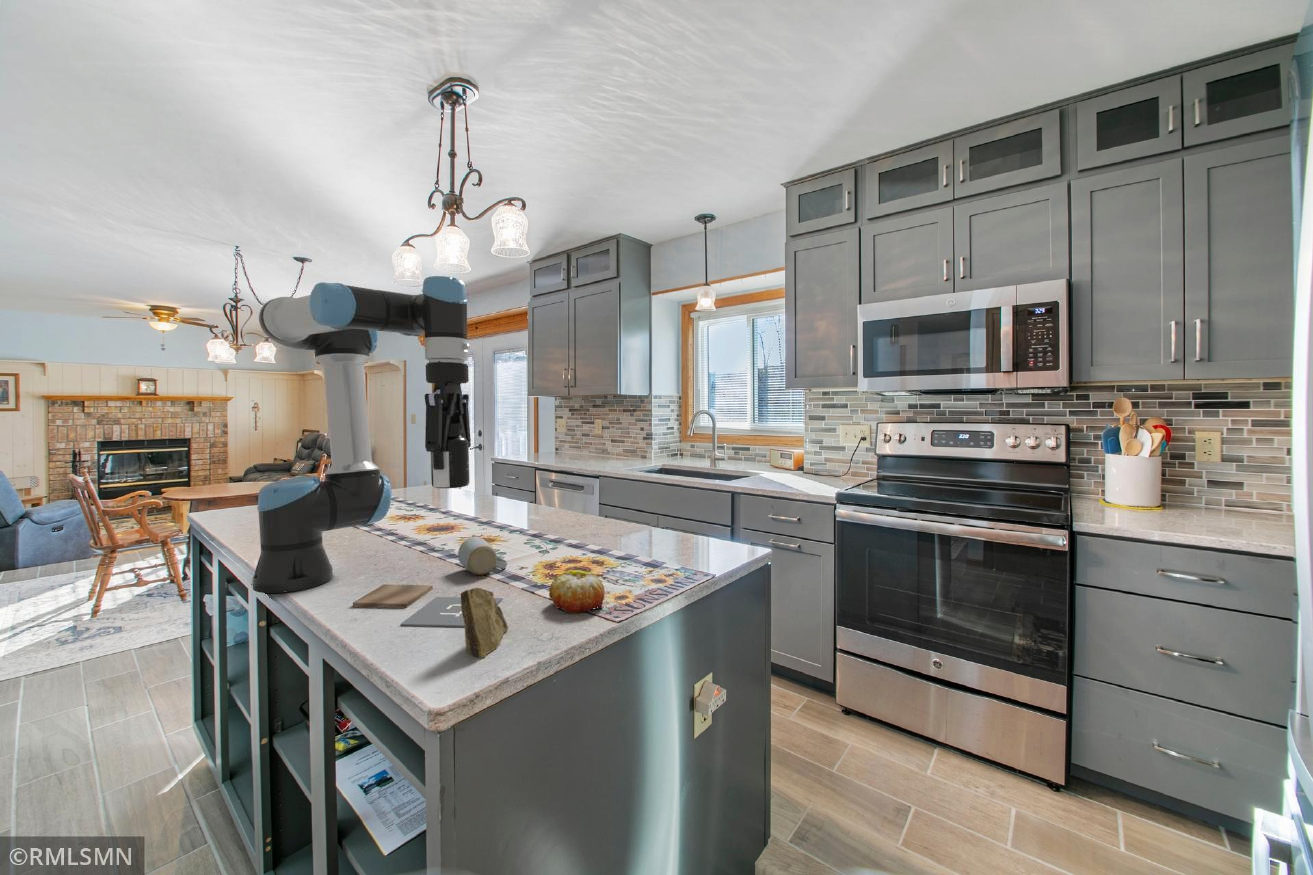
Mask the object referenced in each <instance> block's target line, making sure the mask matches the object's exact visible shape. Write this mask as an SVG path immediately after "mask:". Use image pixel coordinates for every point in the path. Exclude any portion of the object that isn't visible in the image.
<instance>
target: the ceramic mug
mask: <svg viewBox="0 0 1313 875" xmlns="http://www.w3.org/2000/svg"><path fill="white" fill-rule="evenodd" d="M457 558H458V561H459V563H460V564H461V565H462V566H463V567H464V568H465V569H466V570H467V571H469V572H470V573H472V574H474V575H478V576H481V575H486V574H489V573H490V572H492V570H494V568H498V569H506V568H507V565H508V561H507V560H505V559H504V558H502V557H500V556H498V555H497V552H496V550H495V549H494V548H493V546H492V545H491V544H489V542H488V541H486V540H485V539H484V538H482V537H480V536H473V537H469V538H467V539H465V540H464V541H463V542H462V543H461V544H460V546H459V548H458V551H457Z"/></svg>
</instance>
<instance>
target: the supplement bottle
mask: <svg viewBox="0 0 1313 875" xmlns="http://www.w3.org/2000/svg"><path fill="white" fill-rule="evenodd" d="M462 433H463V430H462V423H449V430H448V437H447V445H446V451H445V452H449V482H450V487H433V455H432V452H430V470H431V471H430V473H431V474H430V476H431V486H432V487H433V489H457V488H458V489H459V488H465V487H468V486H469V485H470V482H471V481H470V451H469V448H470V447H469V445H468V441H467V439H466V438H464V437H463V436H462Z"/></svg>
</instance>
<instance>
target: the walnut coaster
mask: <svg viewBox="0 0 1313 875" xmlns="http://www.w3.org/2000/svg"><path fill="white" fill-rule="evenodd" d="M432 590H433V585H432V584H431V585H430V584H429V585H428V584H382V585H380V586H379V587H377V588H375V589H373V590H371V591H370V592H369V593H367V594H365V595H362V597H360V598H358V599H357V600H354V601H353V602H352V607H355V608H356V607H358V608H397V609H399V608H401V609H402V608H403V609H407V608H408V607H410V606H411V605H412V604H413V603H416V602H417V601H418V600H419V599H421V598H422V597H423V596H425V595H426V594H428V593H429V592H431V591H432Z"/></svg>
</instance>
